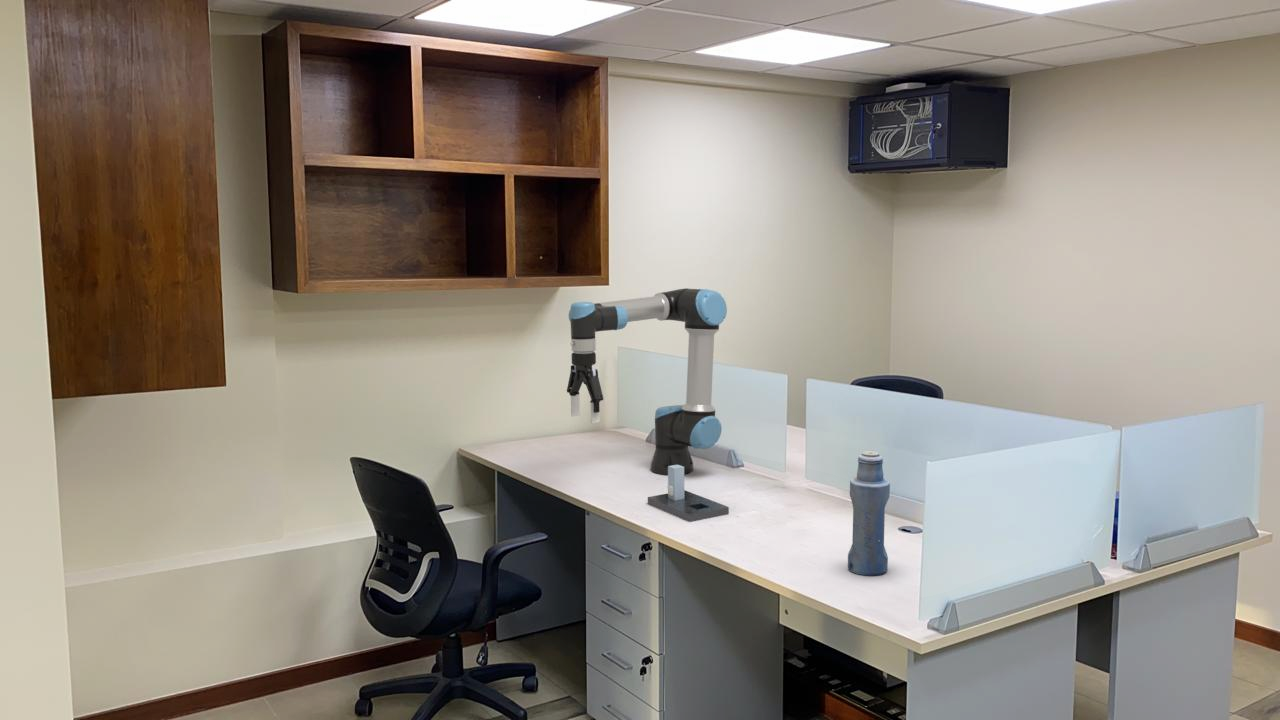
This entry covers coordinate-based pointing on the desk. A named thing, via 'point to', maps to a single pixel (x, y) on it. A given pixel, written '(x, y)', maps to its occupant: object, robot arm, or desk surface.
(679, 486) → the pale blue rectangular prism
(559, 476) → the desk surface
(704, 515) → the dark grey base plate
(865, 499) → the bottle
